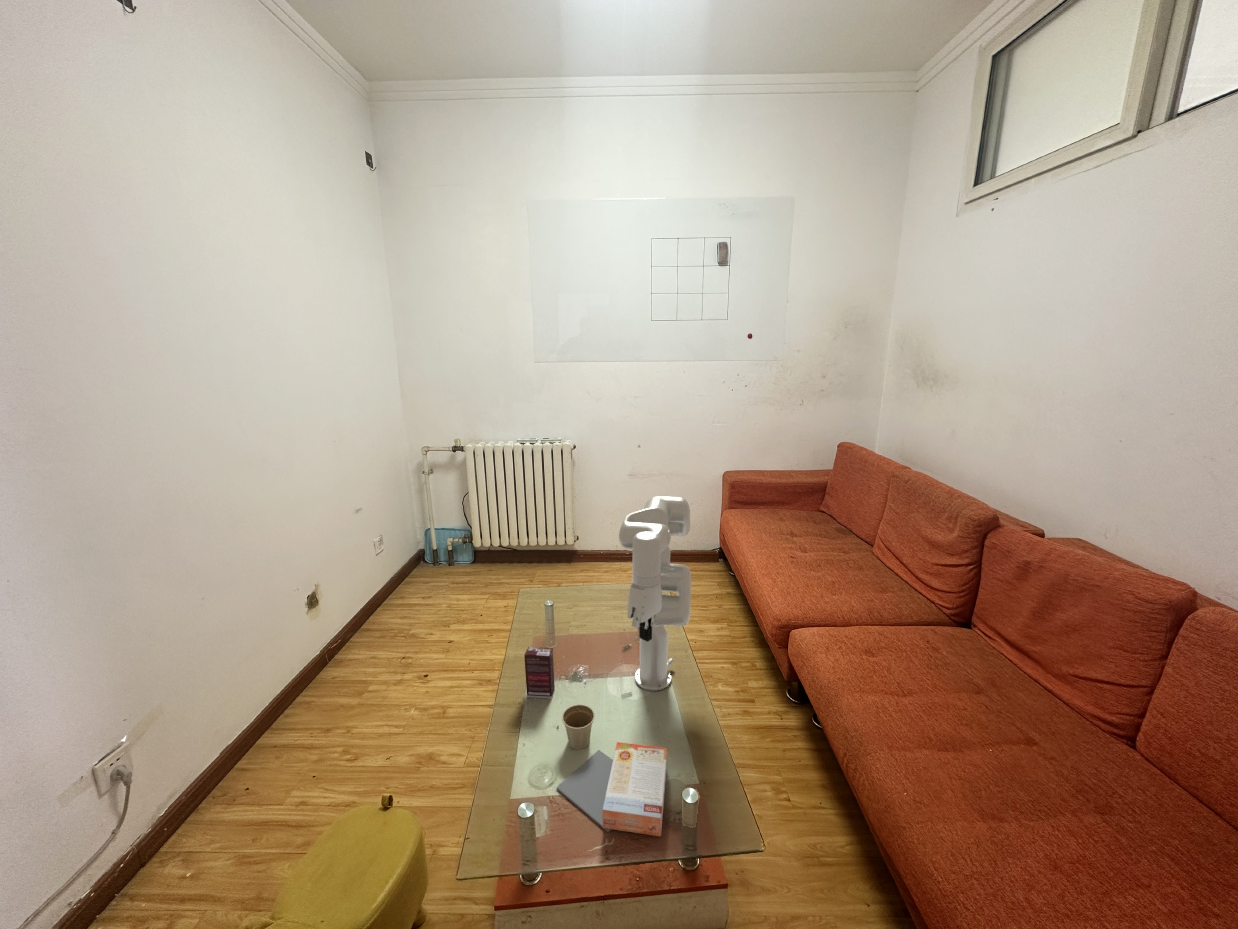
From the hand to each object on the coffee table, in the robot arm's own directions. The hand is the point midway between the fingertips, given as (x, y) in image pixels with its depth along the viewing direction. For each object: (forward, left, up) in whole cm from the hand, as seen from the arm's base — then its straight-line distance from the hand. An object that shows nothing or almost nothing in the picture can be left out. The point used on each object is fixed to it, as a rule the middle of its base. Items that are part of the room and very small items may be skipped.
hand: (645, 638), depth 135 cm
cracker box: (+7, +5, -30) cm, 31 cm away
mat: (+20, +2, -33) cm, 39 cm away
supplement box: (+7, -38, -33) cm, 51 cm away
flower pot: (+13, -14, -33) cm, 38 cm away
